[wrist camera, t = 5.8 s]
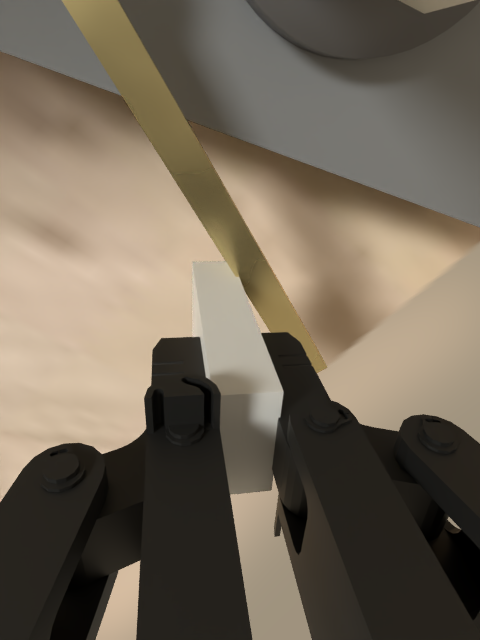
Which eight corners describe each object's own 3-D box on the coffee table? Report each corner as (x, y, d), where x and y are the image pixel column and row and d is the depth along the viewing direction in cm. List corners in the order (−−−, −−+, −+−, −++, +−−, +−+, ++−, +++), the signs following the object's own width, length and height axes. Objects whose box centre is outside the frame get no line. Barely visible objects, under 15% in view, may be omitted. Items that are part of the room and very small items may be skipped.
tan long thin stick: (-56, -143, 9) (-95, -180, 7) (31, -215, 8) (7, -266, 7) (278, 367, 16) (286, 391, 15) (330, 338, 16) (344, 361, 14)
